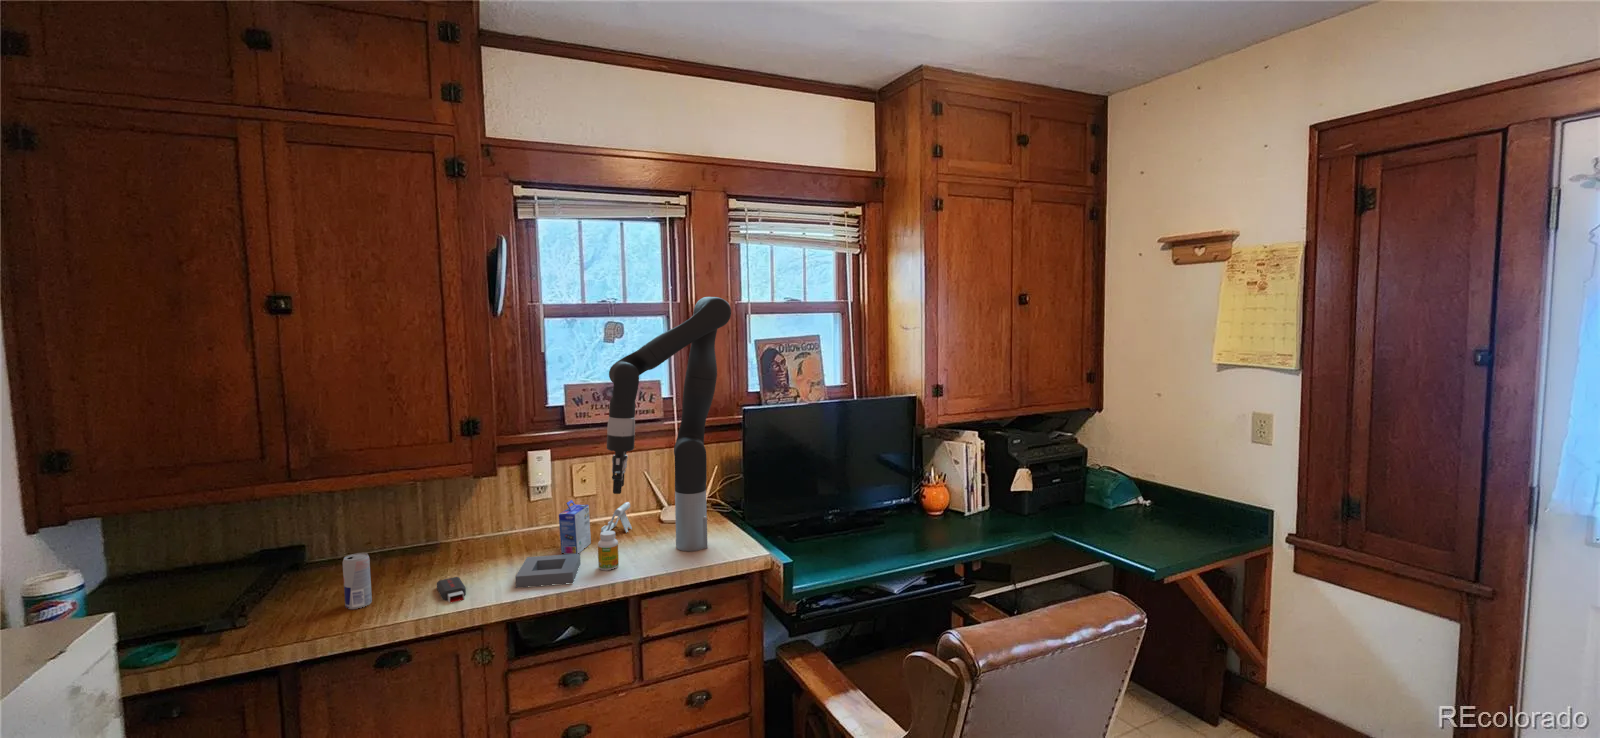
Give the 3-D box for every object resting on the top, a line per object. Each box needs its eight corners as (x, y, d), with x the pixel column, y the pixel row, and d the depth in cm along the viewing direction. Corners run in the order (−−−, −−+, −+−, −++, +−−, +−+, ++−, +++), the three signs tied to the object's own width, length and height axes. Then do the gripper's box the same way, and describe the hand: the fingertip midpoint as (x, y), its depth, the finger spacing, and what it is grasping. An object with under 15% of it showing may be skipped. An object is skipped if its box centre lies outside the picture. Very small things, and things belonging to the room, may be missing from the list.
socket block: (580, 563, 185) (580, 553, 185) (573, 583, 172) (572, 572, 172) (527, 567, 183) (527, 557, 183) (515, 588, 169) (515, 576, 169)
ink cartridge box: (574, 543, 203) (572, 496, 202) (591, 543, 202) (590, 497, 201) (559, 554, 193) (557, 505, 192) (577, 555, 192) (576, 506, 191)
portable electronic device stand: (611, 526, 219) (610, 501, 218) (634, 526, 218) (633, 502, 218) (600, 534, 211) (600, 509, 210) (624, 535, 210) (624, 509, 209)
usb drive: (459, 584, 173) (458, 574, 172) (468, 600, 163) (468, 589, 163) (436, 589, 170) (436, 578, 169) (444, 605, 160) (444, 594, 160)
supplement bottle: (600, 572, 179) (599, 537, 179) (596, 565, 184) (595, 531, 183) (620, 568, 182) (619, 534, 181) (616, 562, 187) (615, 528, 186)
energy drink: (353, 600, 162) (350, 553, 161) (376, 599, 163) (373, 552, 162) (340, 610, 157) (337, 561, 156) (364, 609, 157) (361, 560, 156)
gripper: (633, 437, 179) (630, 496, 180) (636, 429, 193) (633, 484, 194) (604, 436, 178) (601, 496, 179) (609, 428, 192) (607, 483, 193)
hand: (618, 489), depth 187 cm, fingers open, 8 cm apart
